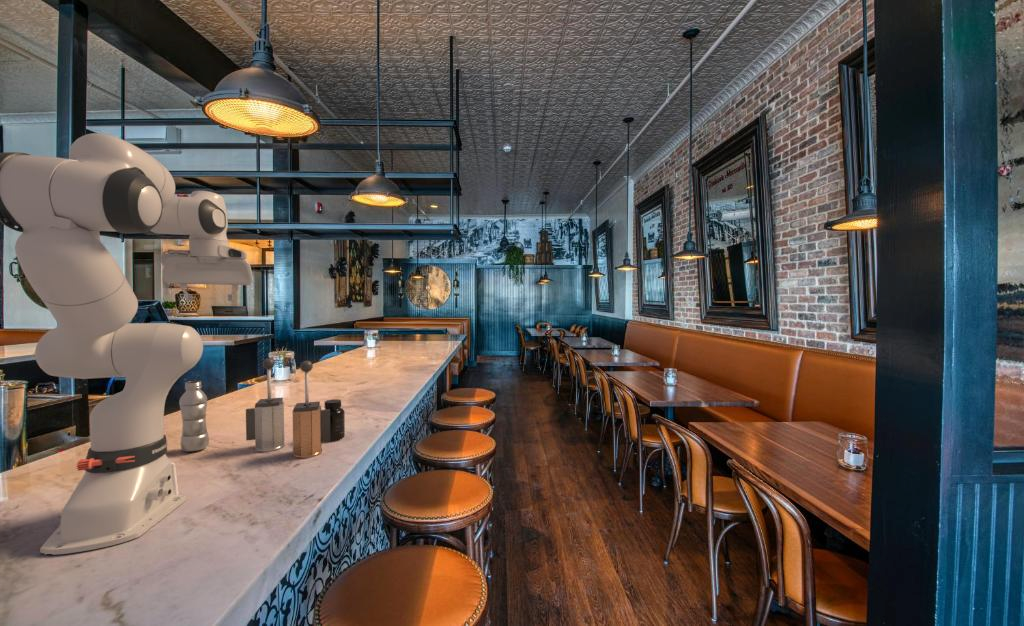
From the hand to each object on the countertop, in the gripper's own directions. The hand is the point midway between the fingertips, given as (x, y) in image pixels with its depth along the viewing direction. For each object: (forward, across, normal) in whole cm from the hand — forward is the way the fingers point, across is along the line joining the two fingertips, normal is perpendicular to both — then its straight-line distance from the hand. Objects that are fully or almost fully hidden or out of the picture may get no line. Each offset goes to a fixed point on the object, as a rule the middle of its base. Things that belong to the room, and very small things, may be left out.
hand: (210, 300), depth 114 cm
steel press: (+44, +12, -4) cm, 45 cm away
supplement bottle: (+44, +30, -7) cm, 54 cm away
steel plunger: (+32, +13, -4) cm, 35 cm away
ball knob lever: (+32, +22, -16) cm, 41 cm away
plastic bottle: (+44, -5, +6) cm, 44 cm away
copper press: (+44, +23, -16) cm, 52 cm away
